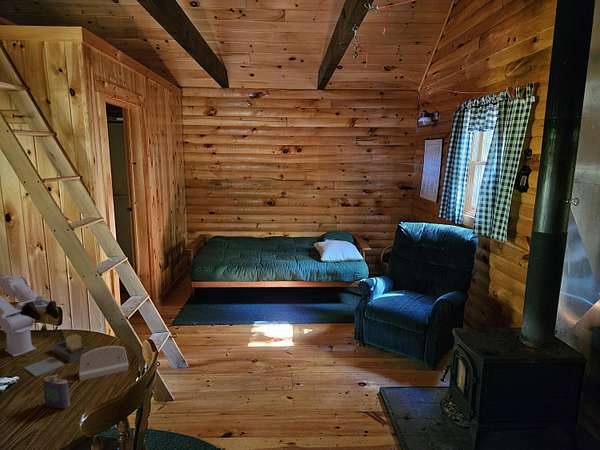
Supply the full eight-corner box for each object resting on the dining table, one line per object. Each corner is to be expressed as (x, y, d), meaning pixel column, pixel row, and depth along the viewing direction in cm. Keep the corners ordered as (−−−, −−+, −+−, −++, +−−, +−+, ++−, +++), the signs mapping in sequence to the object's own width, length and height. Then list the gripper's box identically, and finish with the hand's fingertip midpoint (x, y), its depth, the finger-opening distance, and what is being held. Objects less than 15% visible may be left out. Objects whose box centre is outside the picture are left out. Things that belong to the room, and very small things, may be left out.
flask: (72, 405, 123) (69, 375, 121) (64, 410, 120) (61, 380, 119) (49, 400, 126) (46, 370, 124) (41, 405, 123) (38, 375, 121)
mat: (24, 368, 144) (24, 367, 144) (53, 357, 152) (52, 356, 152) (35, 377, 138) (35, 376, 138) (65, 365, 147) (64, 364, 147)
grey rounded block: (78, 381, 137) (76, 352, 138) (79, 378, 141) (77, 351, 142) (129, 369, 144) (127, 343, 146) (128, 368, 148) (126, 342, 150)
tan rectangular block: (67, 355, 154) (65, 337, 152) (77, 351, 157) (75, 333, 156) (72, 358, 152) (70, 340, 150) (82, 354, 155) (80, 336, 153)
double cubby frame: (51, 350, 157) (50, 345, 157) (71, 343, 164) (70, 338, 164) (69, 362, 149) (69, 356, 148) (90, 354, 155) (90, 348, 155)
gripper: (15, 289, 142) (36, 309, 138) (50, 289, 156) (70, 307, 152) (5, 305, 142) (26, 326, 138) (41, 304, 156) (61, 322, 152)
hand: (48, 317), depth 145 cm, fingers open, 7 cm apart
